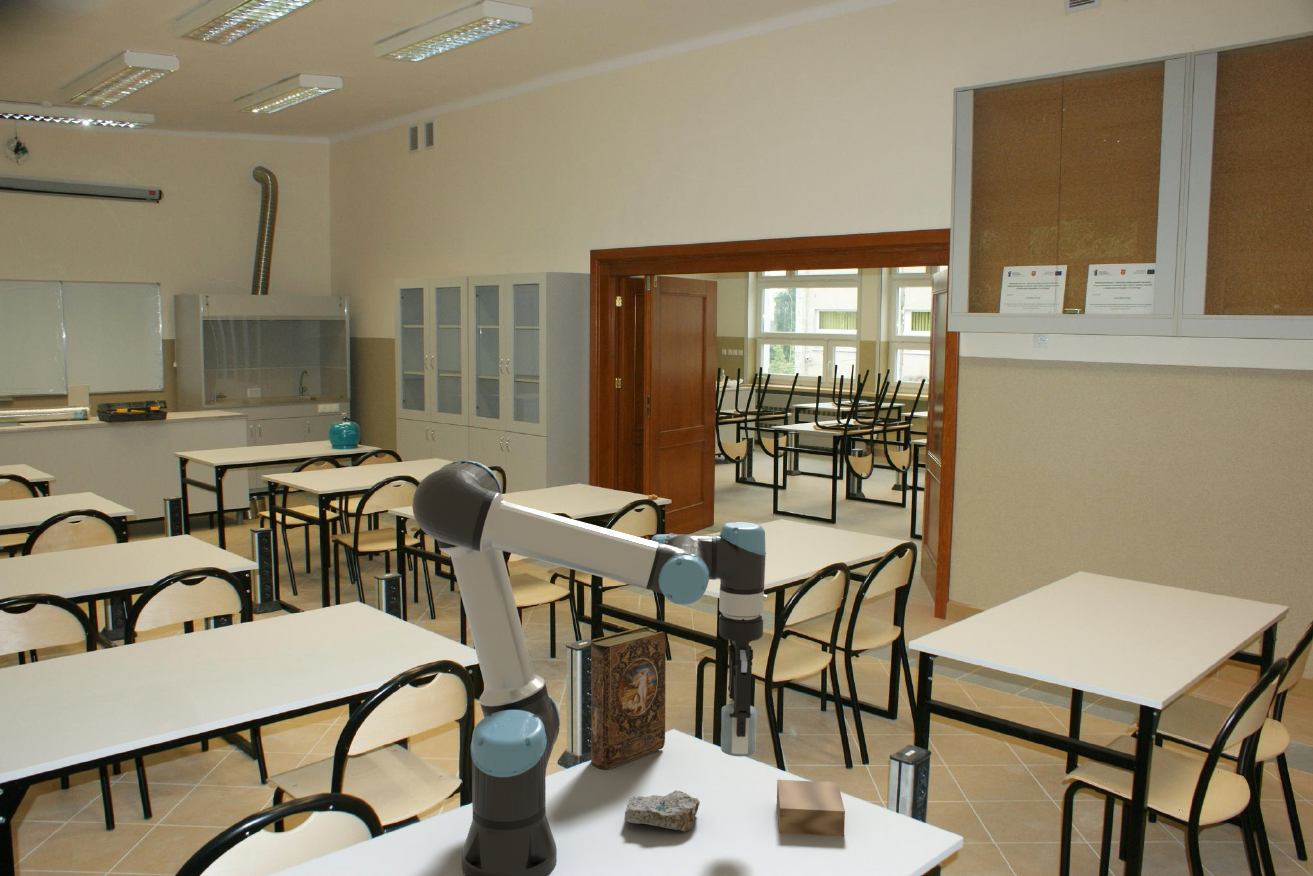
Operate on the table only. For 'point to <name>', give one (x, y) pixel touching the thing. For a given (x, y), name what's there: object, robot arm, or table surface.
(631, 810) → the rock
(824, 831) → the walnut block
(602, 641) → the book
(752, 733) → the grey rounded cylinder
